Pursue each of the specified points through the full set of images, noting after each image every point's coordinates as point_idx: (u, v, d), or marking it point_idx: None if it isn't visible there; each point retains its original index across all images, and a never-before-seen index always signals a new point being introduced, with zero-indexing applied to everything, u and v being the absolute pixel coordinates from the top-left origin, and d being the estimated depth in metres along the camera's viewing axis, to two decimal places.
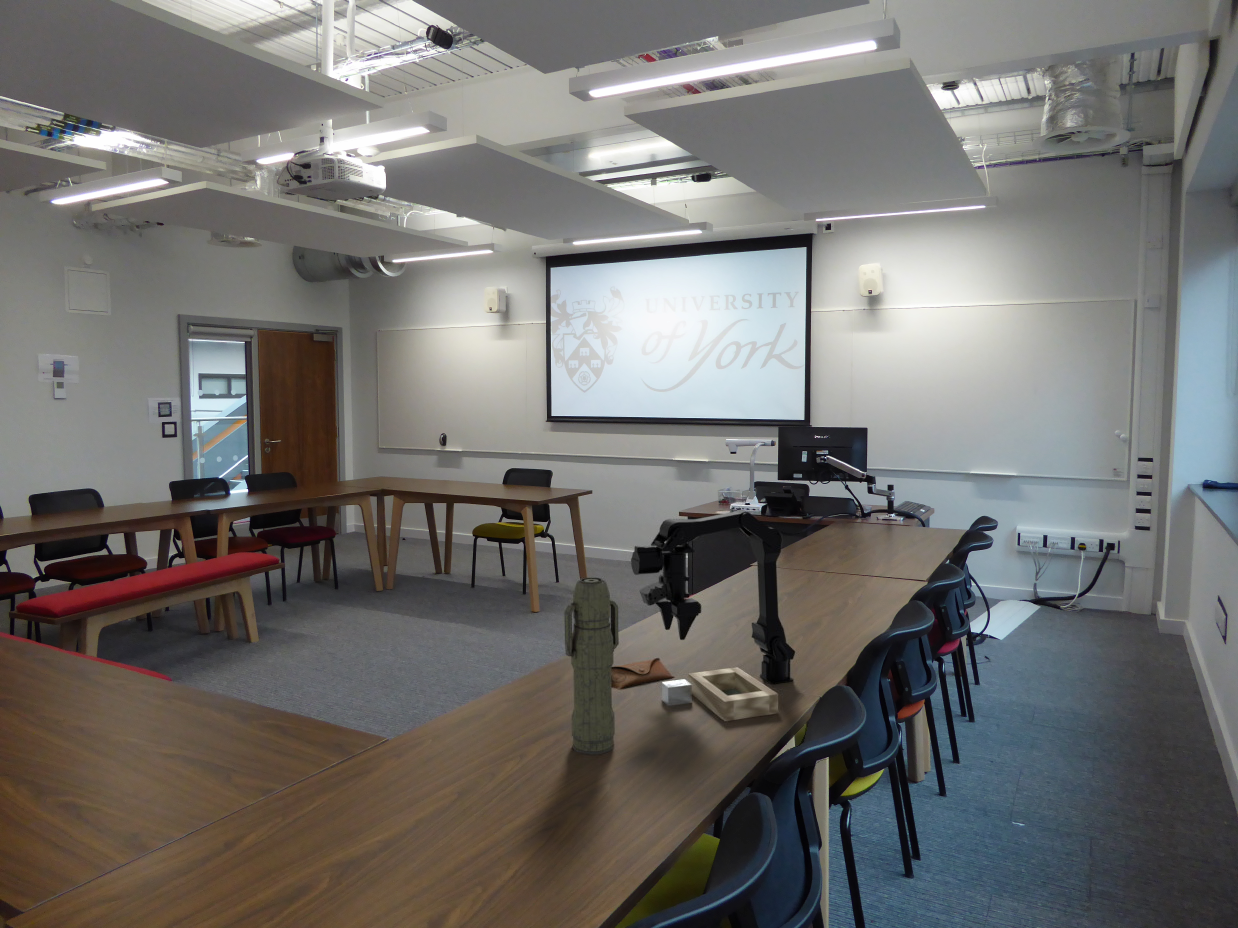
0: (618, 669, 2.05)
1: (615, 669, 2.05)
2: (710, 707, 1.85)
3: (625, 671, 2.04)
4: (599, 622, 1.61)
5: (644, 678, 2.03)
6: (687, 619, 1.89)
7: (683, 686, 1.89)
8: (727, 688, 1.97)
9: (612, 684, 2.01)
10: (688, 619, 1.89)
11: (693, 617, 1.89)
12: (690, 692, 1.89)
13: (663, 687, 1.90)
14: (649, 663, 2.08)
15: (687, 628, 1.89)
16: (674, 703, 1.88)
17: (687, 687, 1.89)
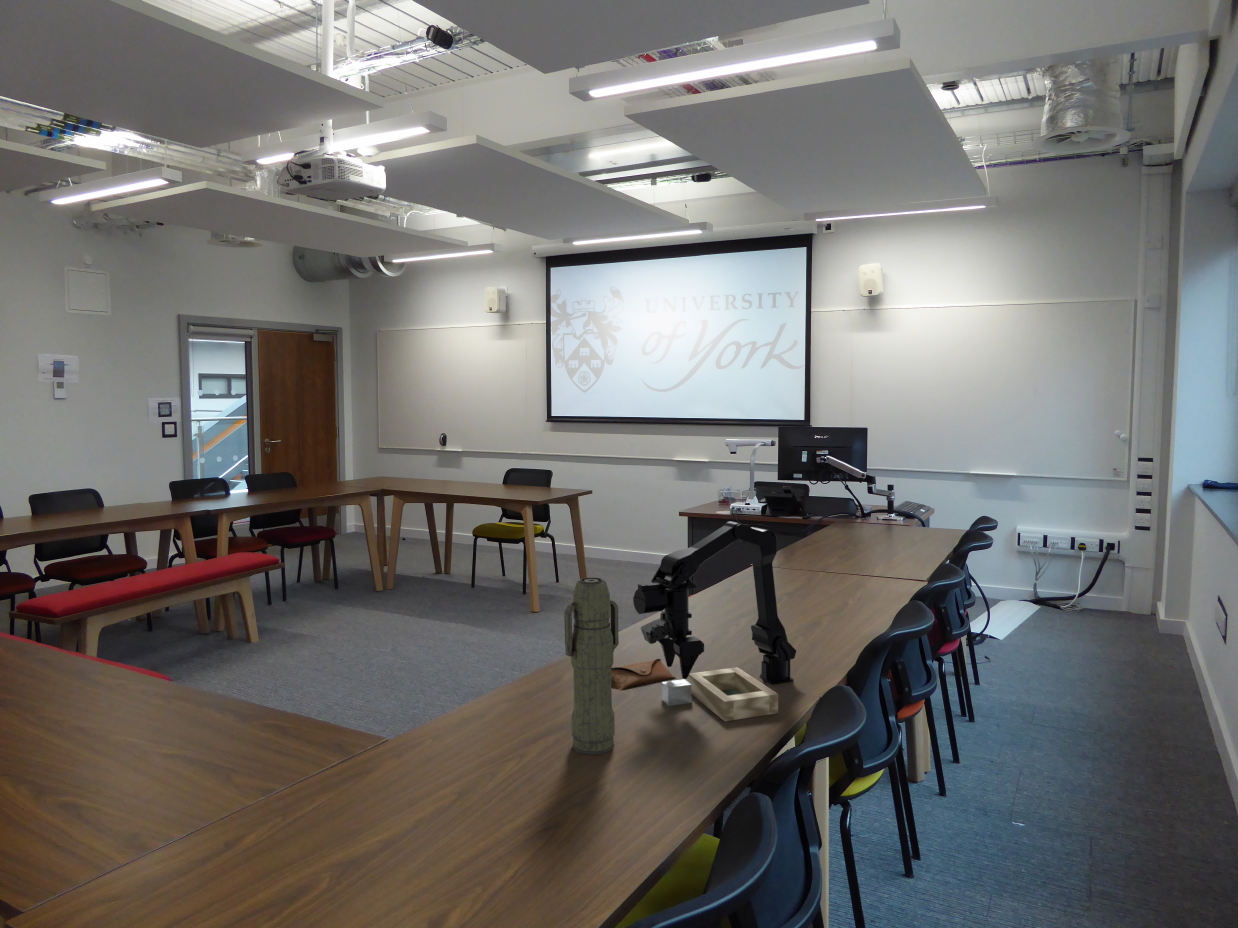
0: (619, 670, 2.04)
1: (616, 670, 2.04)
2: (710, 707, 1.85)
3: (626, 672, 2.04)
4: (599, 622, 1.61)
5: (645, 679, 2.02)
6: (690, 658, 1.84)
7: (683, 686, 1.89)
8: (727, 688, 1.97)
9: (613, 685, 2.00)
10: (691, 658, 1.84)
11: (696, 656, 1.84)
12: (690, 692, 1.89)
13: (663, 687, 1.90)
14: (650, 664, 2.07)
15: (690, 667, 1.85)
16: (674, 703, 1.88)
17: (687, 687, 1.89)
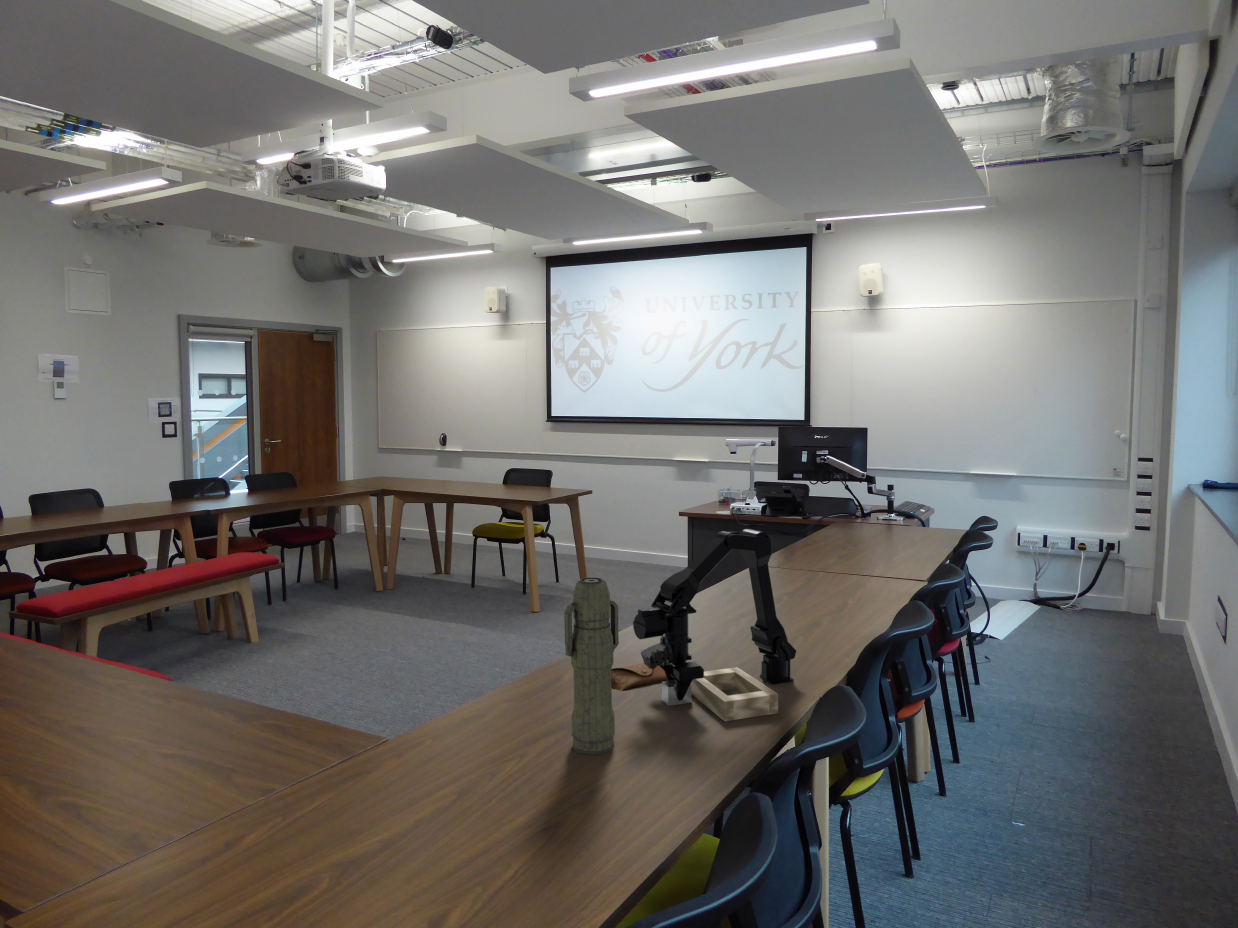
0: (620, 670, 2.04)
1: (617, 670, 2.03)
2: (710, 707, 1.85)
3: (627, 673, 2.03)
4: (599, 622, 1.61)
5: (646, 680, 2.02)
6: (685, 679, 1.87)
7: None
8: (727, 688, 1.97)
9: (614, 686, 2.00)
10: (686, 680, 1.87)
11: None
12: (690, 691, 1.89)
13: (663, 686, 1.90)
14: None
15: (685, 688, 1.87)
16: (674, 702, 1.88)
17: None
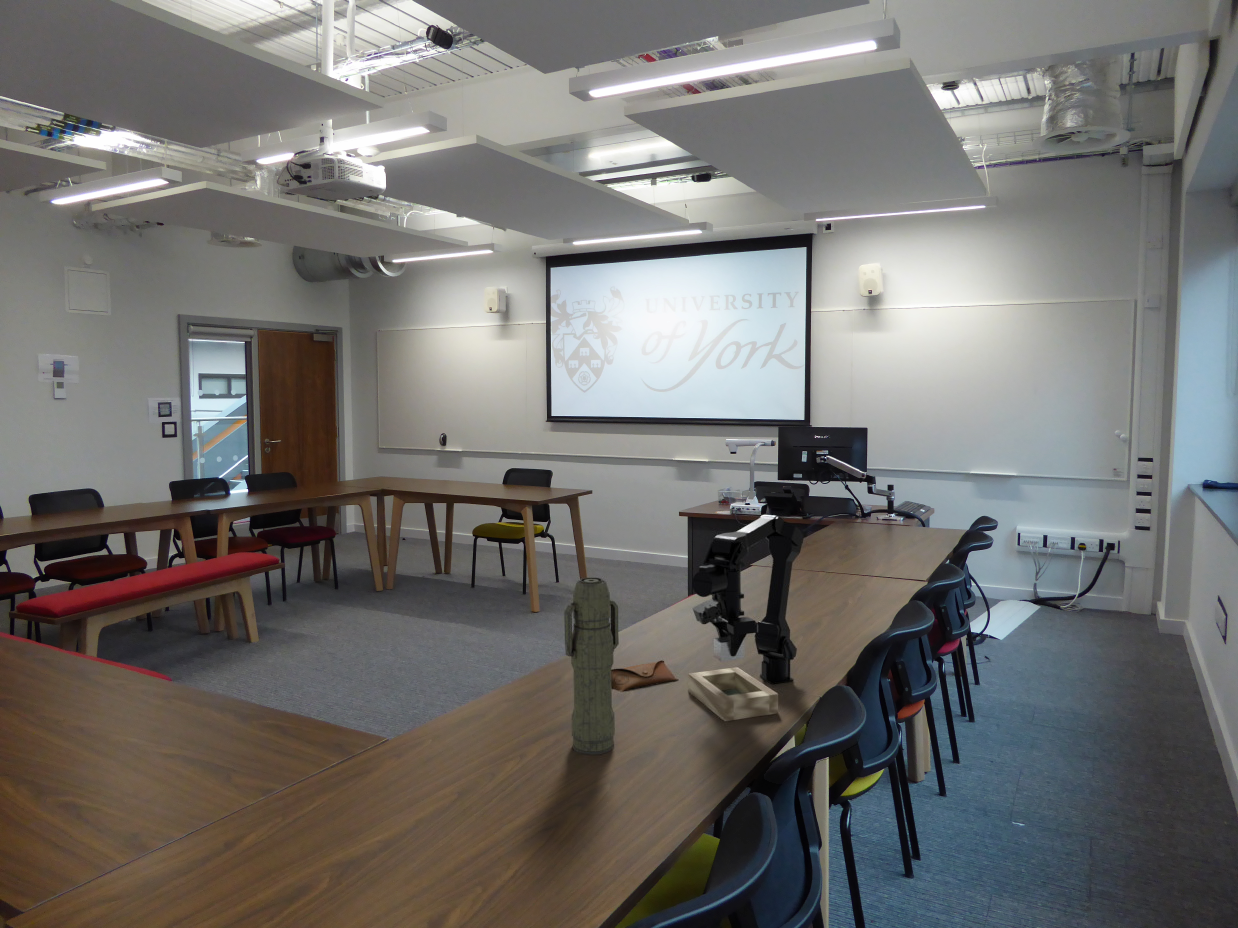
0: (621, 671, 2.03)
1: (618, 671, 2.03)
2: (710, 707, 1.85)
3: (628, 673, 2.03)
4: (599, 622, 1.61)
5: (647, 681, 2.01)
6: (738, 635, 1.86)
7: None
8: (727, 688, 1.97)
9: (615, 686, 2.00)
10: (739, 635, 1.86)
11: (744, 633, 1.85)
12: (743, 648, 1.88)
13: (715, 643, 1.89)
14: (653, 665, 2.06)
15: (738, 644, 1.86)
16: (727, 658, 1.87)
17: None
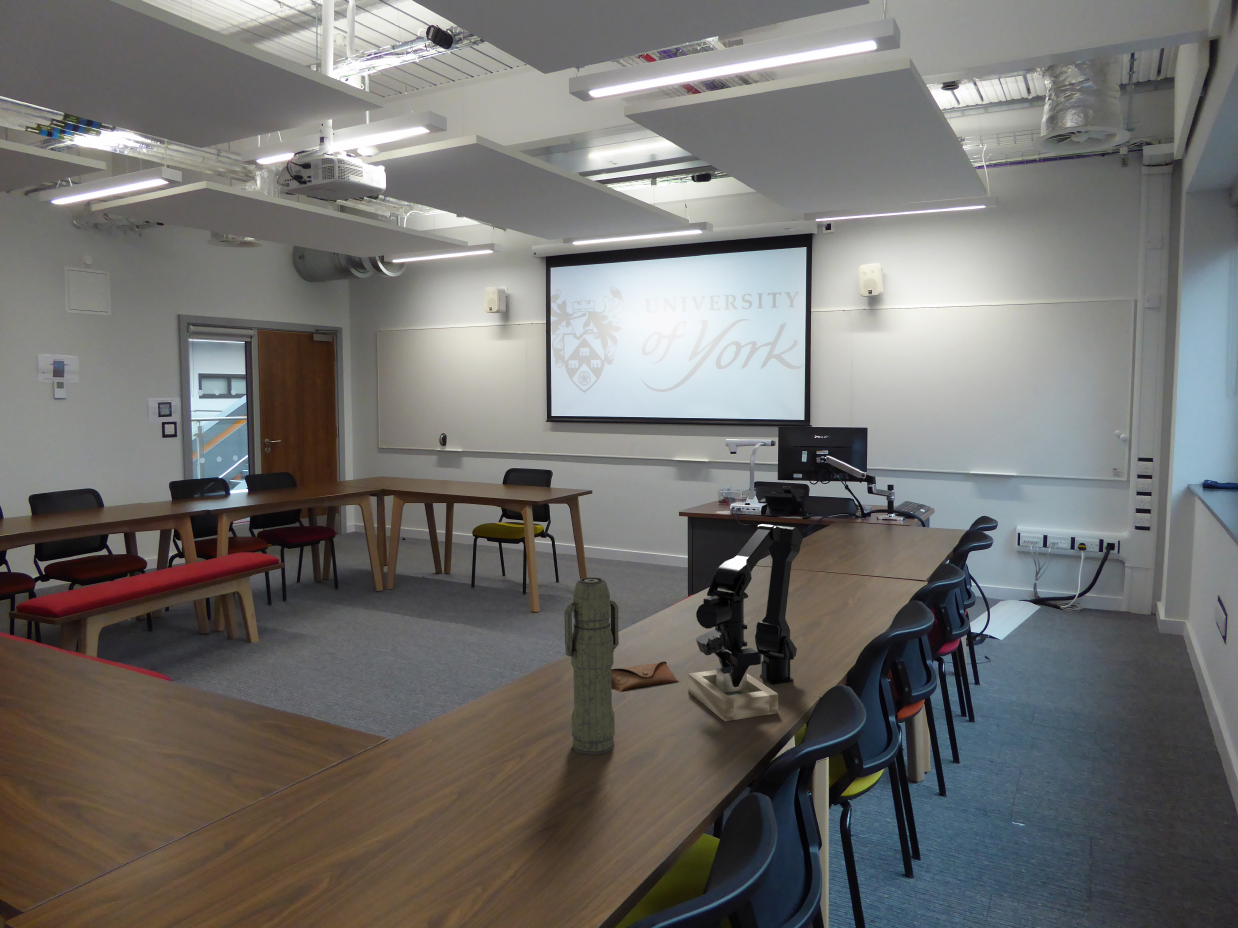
0: (621, 671, 2.03)
1: (618, 671, 2.03)
2: (710, 707, 1.85)
3: (628, 674, 2.02)
4: (599, 622, 1.61)
5: (647, 681, 2.01)
6: (741, 666, 1.86)
7: None
8: None
9: (614, 686, 2.00)
10: (742, 666, 1.86)
11: None
12: (745, 678, 1.88)
13: (718, 673, 1.89)
14: (654, 666, 2.05)
15: (741, 675, 1.86)
16: (730, 689, 1.87)
17: None
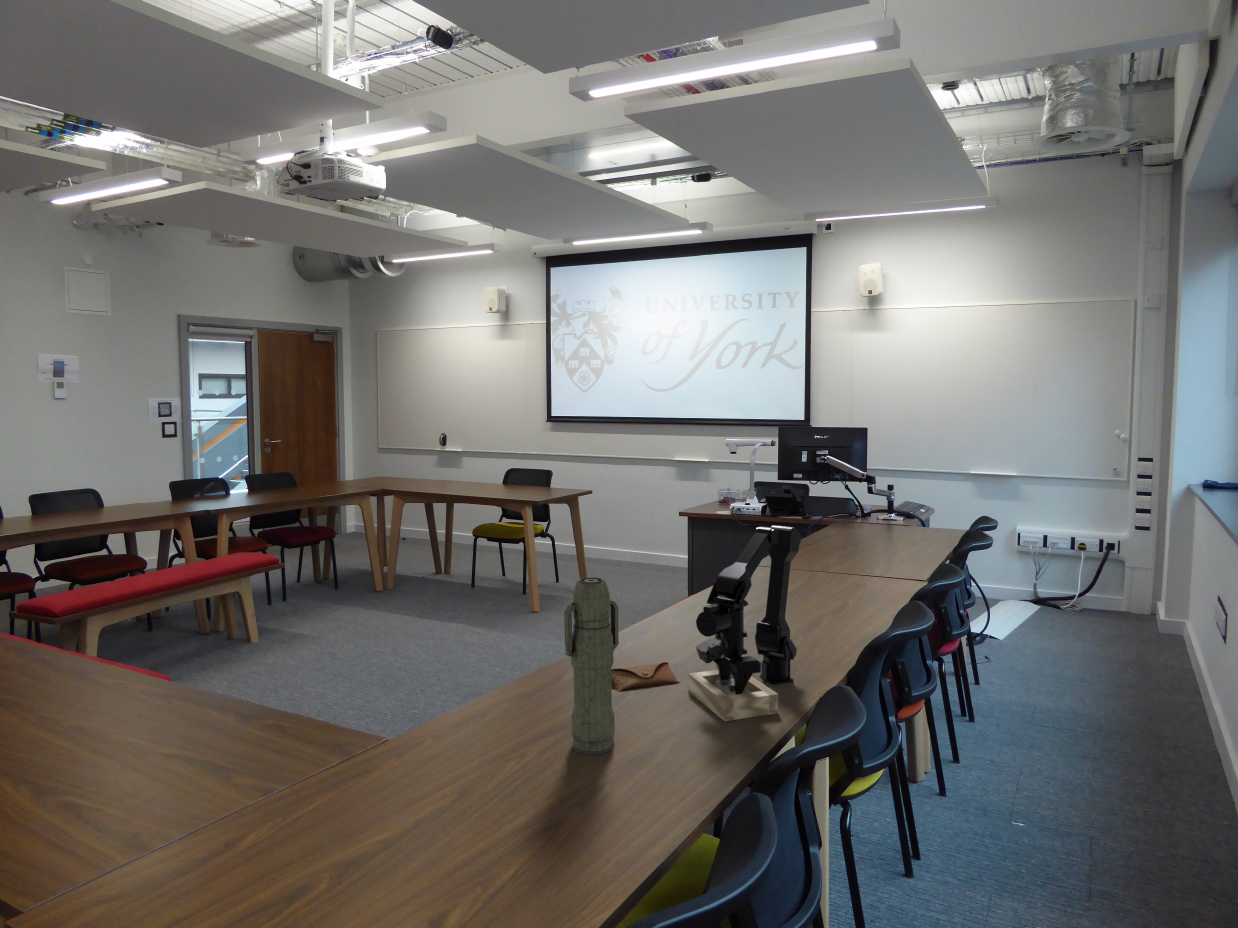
0: (621, 671, 2.03)
1: (618, 671, 2.03)
2: (710, 707, 1.85)
3: (628, 674, 2.02)
4: (599, 622, 1.61)
5: (646, 682, 2.00)
6: (744, 676, 1.85)
7: None
8: None
9: (613, 686, 2.00)
10: (745, 676, 1.85)
11: (750, 674, 1.85)
12: (745, 691, 1.88)
13: (718, 686, 1.89)
14: (654, 667, 2.05)
15: (743, 685, 1.85)
16: None
17: None
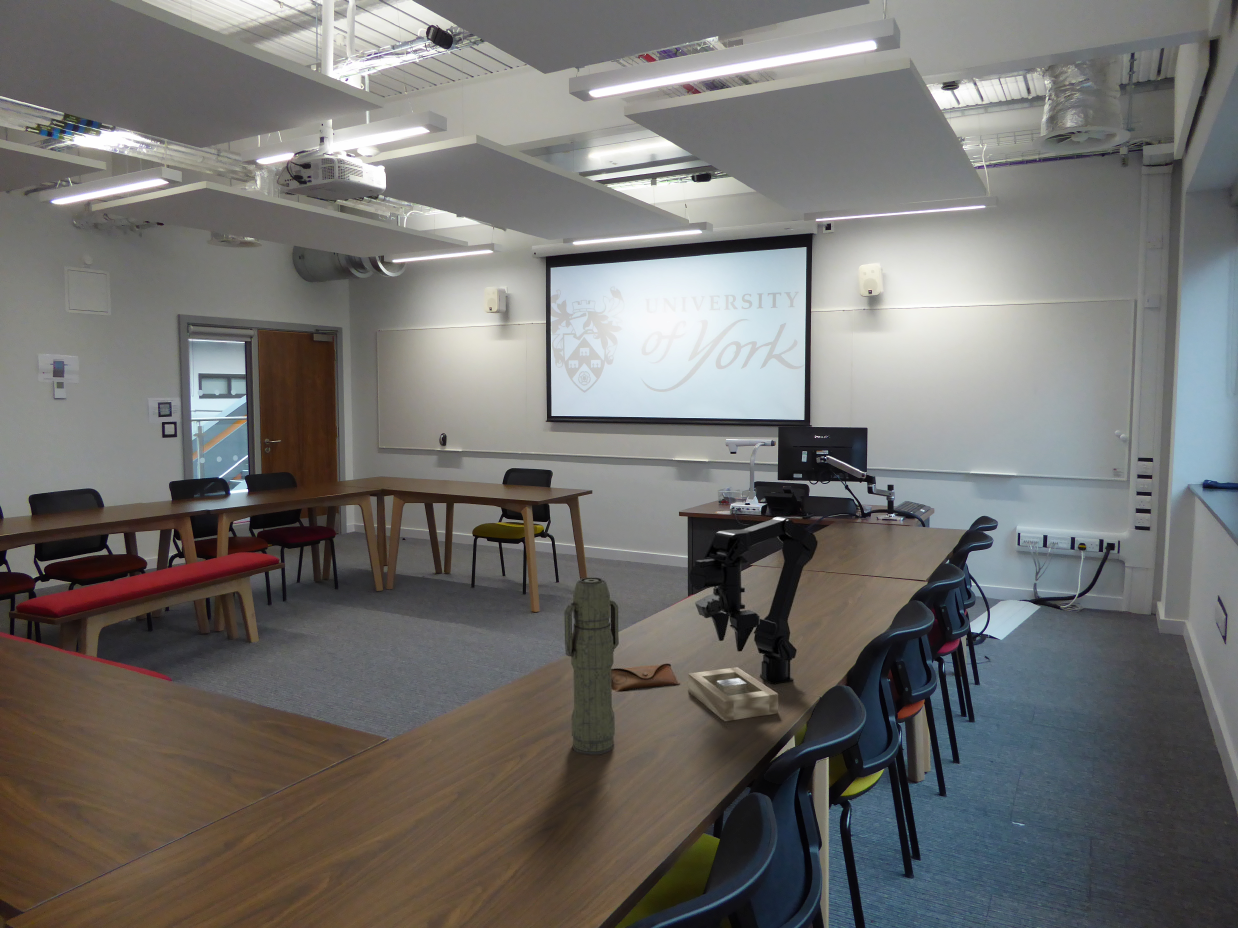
0: (622, 671, 2.03)
1: (619, 671, 2.03)
2: (710, 707, 1.85)
3: (628, 674, 2.02)
4: (599, 622, 1.61)
5: (645, 682, 2.00)
6: (745, 631, 1.89)
7: (738, 685, 1.88)
8: None
9: (612, 686, 2.00)
10: (746, 631, 1.89)
11: (751, 628, 1.89)
12: (745, 691, 1.88)
13: (718, 686, 1.89)
14: (655, 668, 2.04)
15: (745, 640, 1.90)
16: None
17: (742, 685, 1.88)
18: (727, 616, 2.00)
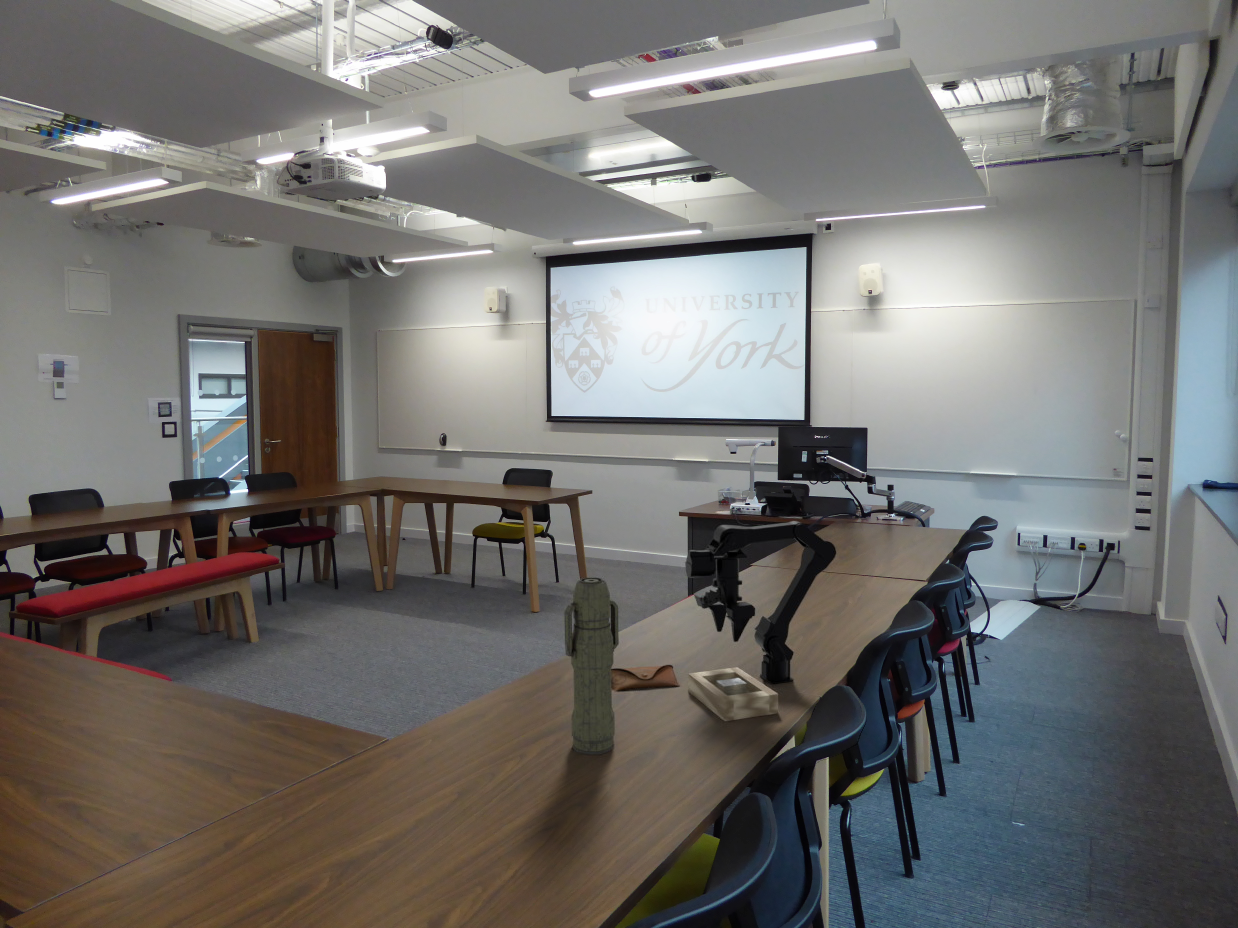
0: (622, 671, 2.03)
1: (619, 671, 2.03)
2: (710, 707, 1.85)
3: (628, 674, 2.02)
4: (599, 622, 1.61)
5: (644, 683, 1.99)
6: (741, 622, 1.96)
7: (738, 685, 1.88)
8: None
9: (611, 685, 2.00)
10: (742, 622, 1.96)
11: (747, 620, 1.96)
12: (745, 691, 1.88)
13: (718, 686, 1.89)
14: (656, 669, 2.03)
15: (741, 630, 1.96)
16: None
17: (742, 685, 1.88)
18: (725, 608, 2.07)
